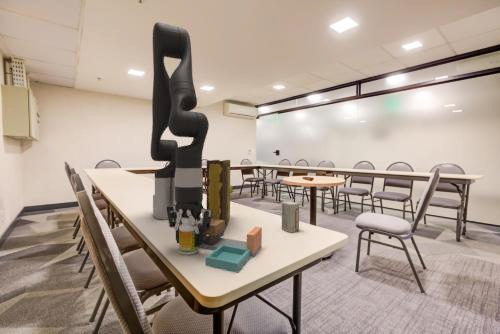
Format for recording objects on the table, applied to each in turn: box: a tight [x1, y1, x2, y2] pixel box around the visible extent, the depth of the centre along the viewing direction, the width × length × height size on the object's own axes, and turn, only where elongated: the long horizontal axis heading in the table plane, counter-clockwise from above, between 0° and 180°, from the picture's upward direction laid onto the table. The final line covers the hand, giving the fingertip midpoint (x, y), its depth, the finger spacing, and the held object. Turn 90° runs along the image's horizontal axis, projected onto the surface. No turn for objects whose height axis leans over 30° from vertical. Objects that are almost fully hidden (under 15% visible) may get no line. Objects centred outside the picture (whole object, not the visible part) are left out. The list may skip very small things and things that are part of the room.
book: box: [206, 159, 234, 233], centre depth 87 cm, size 22×8×25 cm, turn 179°
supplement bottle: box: [178, 217, 200, 256], centre depth 62 cm, size 5×5×10 cm
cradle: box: [204, 244, 252, 273], centre depth 57 cm, size 9×9×2 cm
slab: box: [196, 217, 226, 244], centre depth 68 cm, size 8×6×5 cm
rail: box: [199, 226, 263, 257], centre depth 66 cm, size 21×7×6 cm, turn 69°
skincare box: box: [281, 201, 300, 233], centre depth 81 cm, size 5×4×10 cm
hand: (189, 243), depth 63 cm, fingers closed on supplement bottle, 5 cm apart
